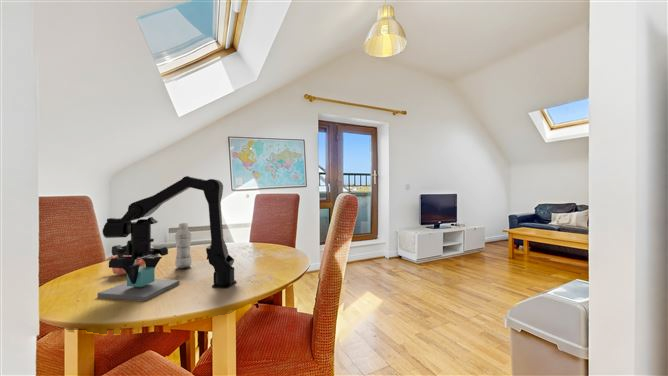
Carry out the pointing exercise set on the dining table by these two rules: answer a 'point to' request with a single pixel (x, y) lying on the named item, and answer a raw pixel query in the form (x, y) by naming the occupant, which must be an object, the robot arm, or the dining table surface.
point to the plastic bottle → (183, 246)
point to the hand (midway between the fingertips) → (141, 280)
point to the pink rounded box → (121, 271)
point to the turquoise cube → (143, 277)
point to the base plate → (138, 290)
